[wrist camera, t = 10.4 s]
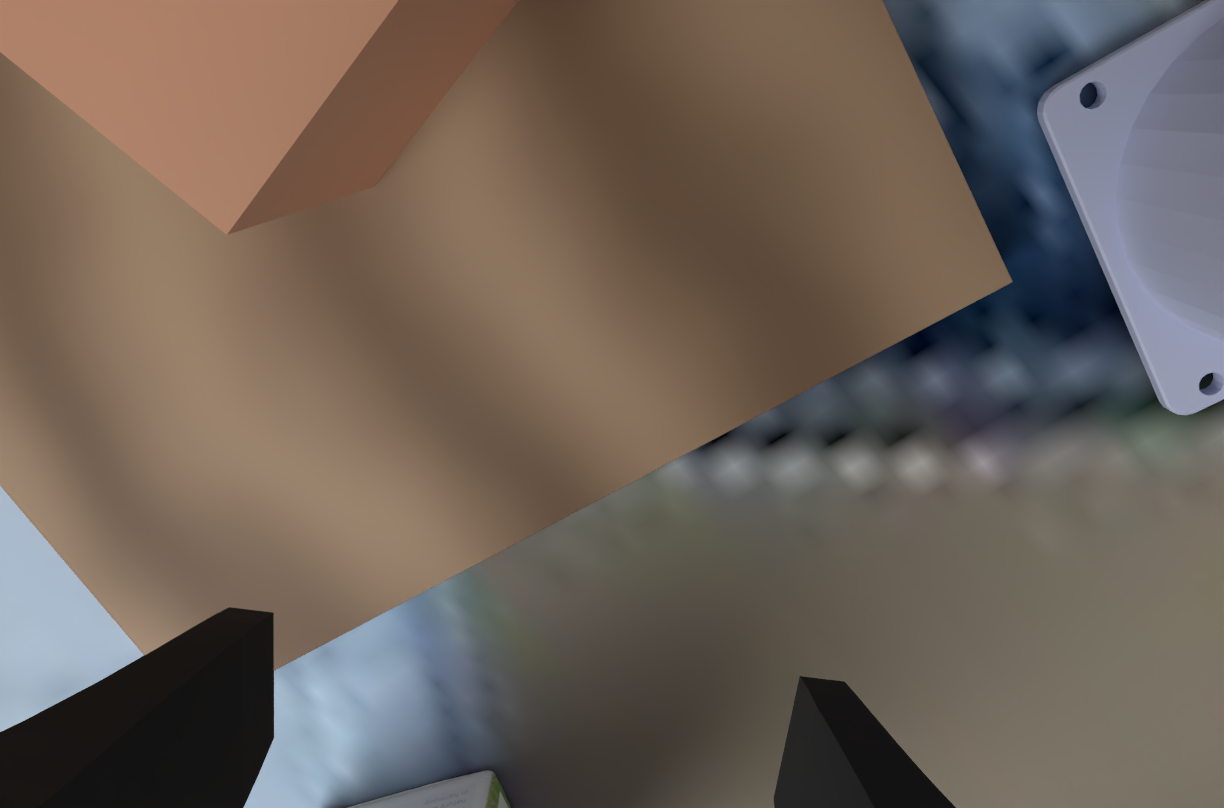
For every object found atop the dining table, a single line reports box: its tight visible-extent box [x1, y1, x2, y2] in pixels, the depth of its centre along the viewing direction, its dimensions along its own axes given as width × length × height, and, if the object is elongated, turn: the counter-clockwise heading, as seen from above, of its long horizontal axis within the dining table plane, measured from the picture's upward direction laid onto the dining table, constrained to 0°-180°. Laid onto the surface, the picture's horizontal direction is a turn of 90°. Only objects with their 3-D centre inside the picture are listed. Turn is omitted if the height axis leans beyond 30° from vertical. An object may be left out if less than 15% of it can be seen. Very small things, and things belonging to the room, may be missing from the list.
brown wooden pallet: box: [0, 0, 1012, 670], centre depth 18 cm, size 22×18×3 cm
